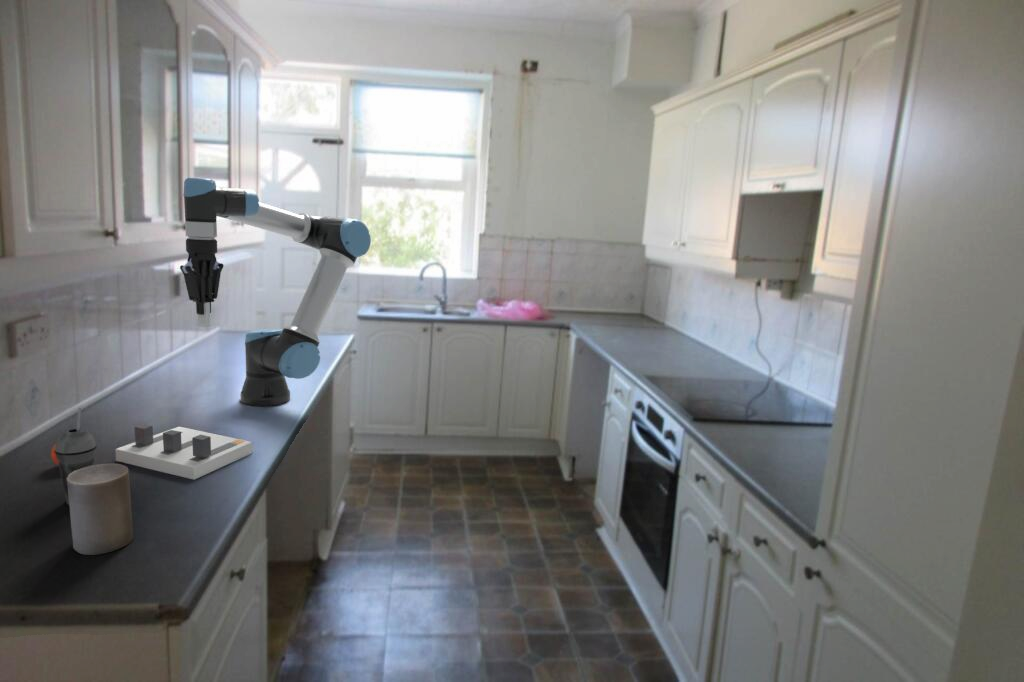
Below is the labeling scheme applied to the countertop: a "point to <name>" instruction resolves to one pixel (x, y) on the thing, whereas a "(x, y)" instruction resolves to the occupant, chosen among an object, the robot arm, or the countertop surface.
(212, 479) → the countertop surface
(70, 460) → the beverage cup
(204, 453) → the handle
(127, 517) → the pillar candle
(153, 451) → the breaker panel
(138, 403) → the countertop surface
